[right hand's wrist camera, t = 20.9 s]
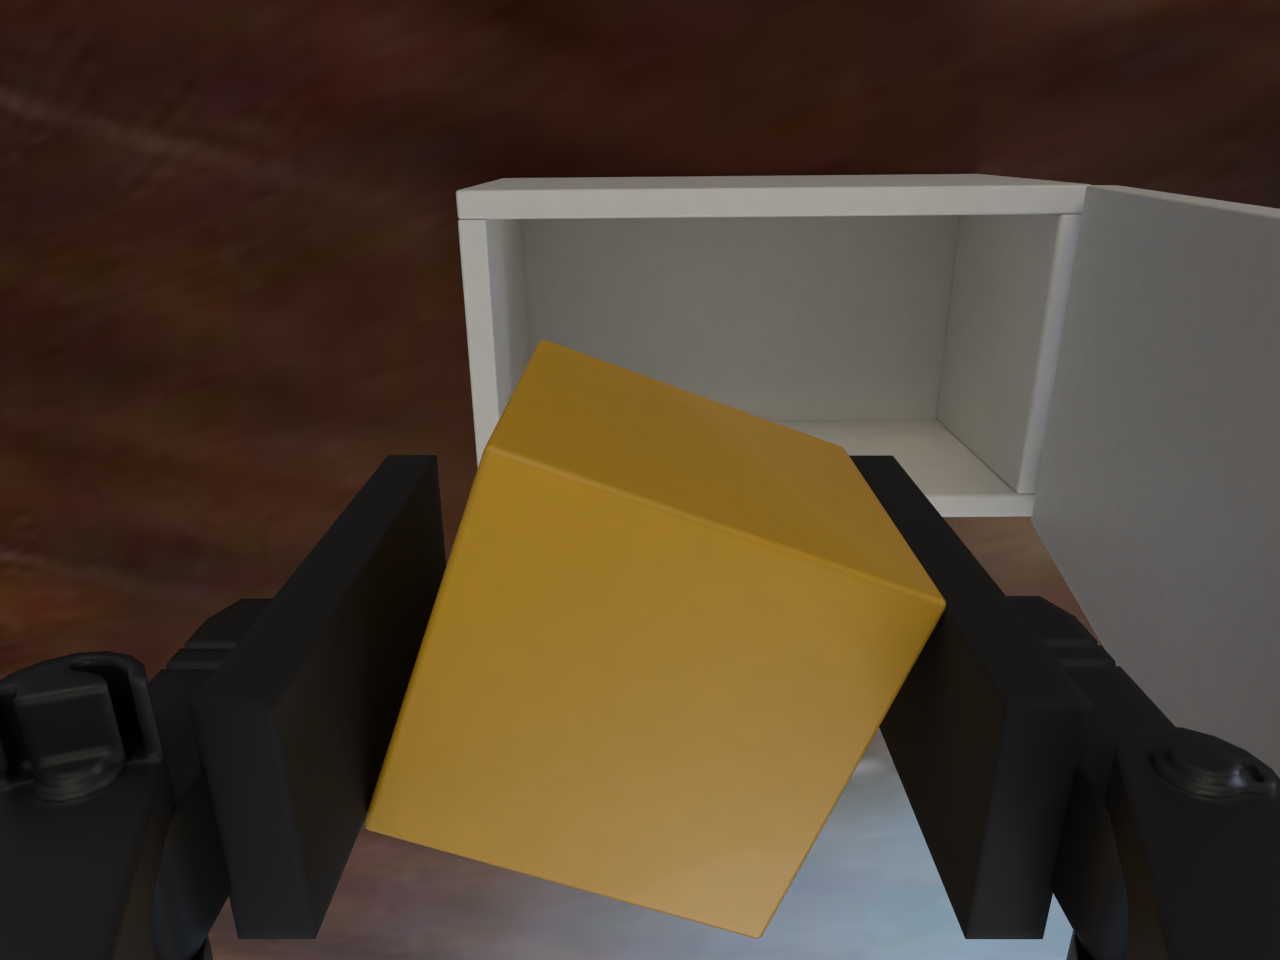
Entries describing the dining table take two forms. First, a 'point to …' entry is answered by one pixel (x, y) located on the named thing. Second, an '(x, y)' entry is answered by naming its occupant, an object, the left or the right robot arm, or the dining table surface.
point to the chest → (796, 306)
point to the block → (652, 648)
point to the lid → (1174, 454)
